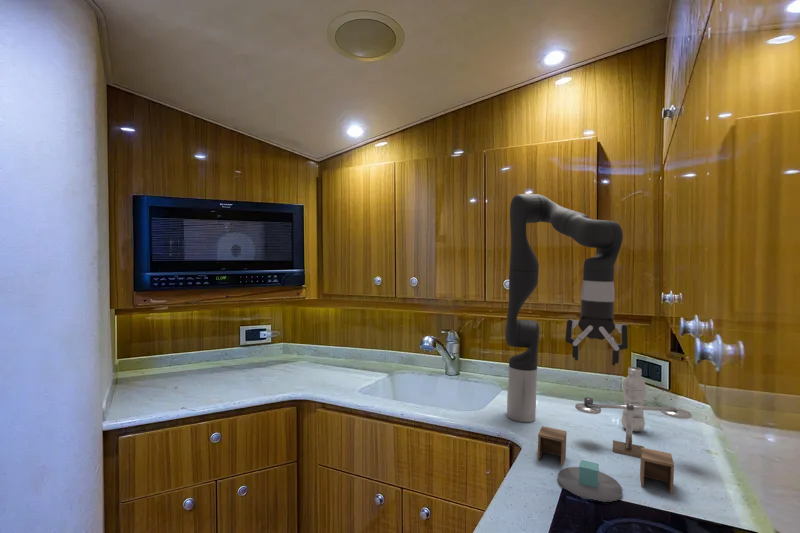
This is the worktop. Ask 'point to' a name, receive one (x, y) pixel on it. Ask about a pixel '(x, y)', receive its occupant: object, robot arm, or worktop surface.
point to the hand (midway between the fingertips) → (594, 362)
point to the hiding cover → (552, 442)
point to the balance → (629, 421)
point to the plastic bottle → (634, 397)
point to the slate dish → (604, 492)
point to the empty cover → (657, 466)
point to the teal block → (588, 473)
